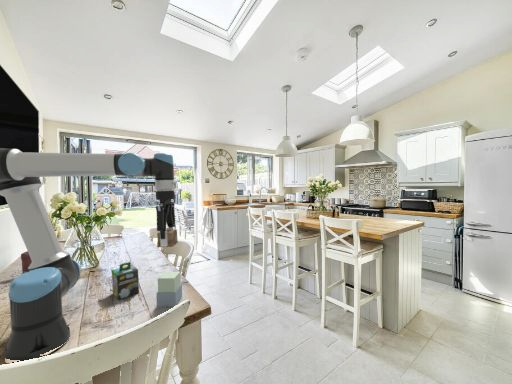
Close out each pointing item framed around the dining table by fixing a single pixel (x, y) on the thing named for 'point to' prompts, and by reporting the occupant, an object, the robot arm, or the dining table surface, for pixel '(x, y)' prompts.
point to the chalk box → (125, 281)
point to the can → (25, 262)
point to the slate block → (169, 298)
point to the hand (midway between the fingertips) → (167, 244)
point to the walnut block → (169, 238)
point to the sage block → (169, 282)
